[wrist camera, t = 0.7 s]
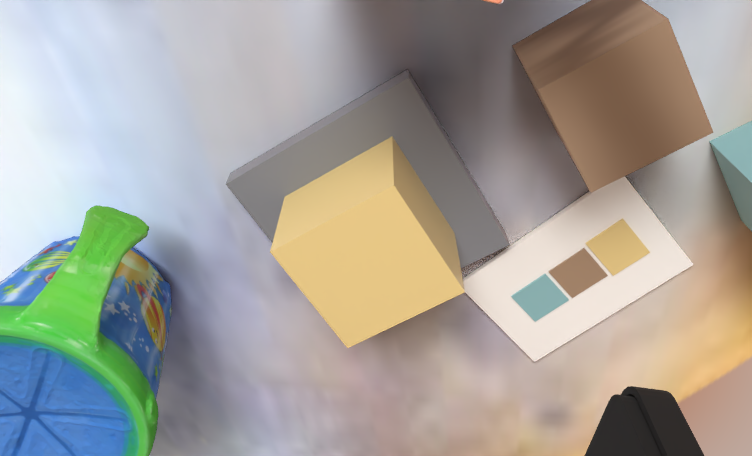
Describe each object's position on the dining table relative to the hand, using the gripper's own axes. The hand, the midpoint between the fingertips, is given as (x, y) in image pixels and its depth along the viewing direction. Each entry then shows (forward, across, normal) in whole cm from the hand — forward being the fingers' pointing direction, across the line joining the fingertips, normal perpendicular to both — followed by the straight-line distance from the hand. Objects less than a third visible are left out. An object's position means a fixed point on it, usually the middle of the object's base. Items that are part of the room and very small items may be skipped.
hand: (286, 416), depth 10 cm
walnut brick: (+24, -11, 0) cm, 26 cm away
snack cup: (+24, +11, +16) cm, 31 cm away
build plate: (+24, -2, +9) cm, 25 cm away
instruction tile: (+24, -14, +11) cm, 29 cm away
